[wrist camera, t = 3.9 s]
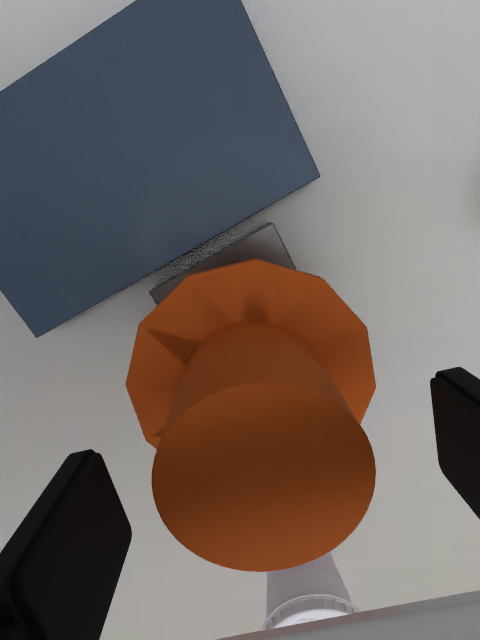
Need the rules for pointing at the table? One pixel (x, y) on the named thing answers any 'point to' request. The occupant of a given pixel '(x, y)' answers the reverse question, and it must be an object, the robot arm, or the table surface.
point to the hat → (256, 415)
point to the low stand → (137, 153)
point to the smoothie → (306, 594)
